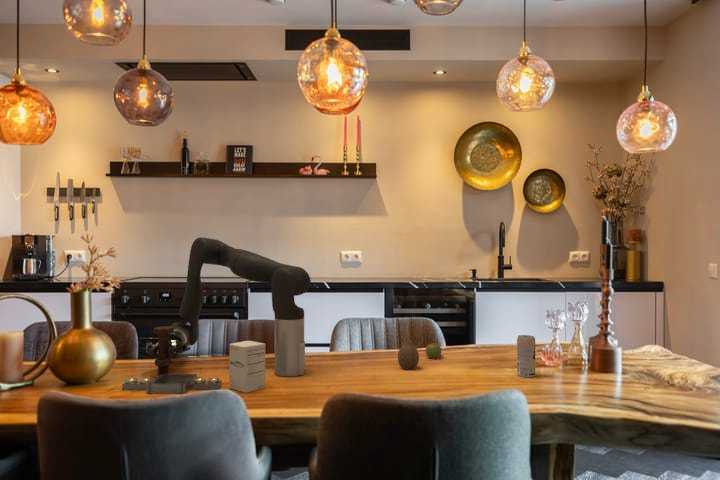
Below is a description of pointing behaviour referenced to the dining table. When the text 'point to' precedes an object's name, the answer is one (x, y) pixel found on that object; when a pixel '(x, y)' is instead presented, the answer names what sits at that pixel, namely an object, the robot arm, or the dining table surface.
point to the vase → (408, 356)
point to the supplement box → (247, 366)
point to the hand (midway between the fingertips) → (161, 352)
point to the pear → (433, 351)
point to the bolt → (163, 349)
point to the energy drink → (526, 356)
